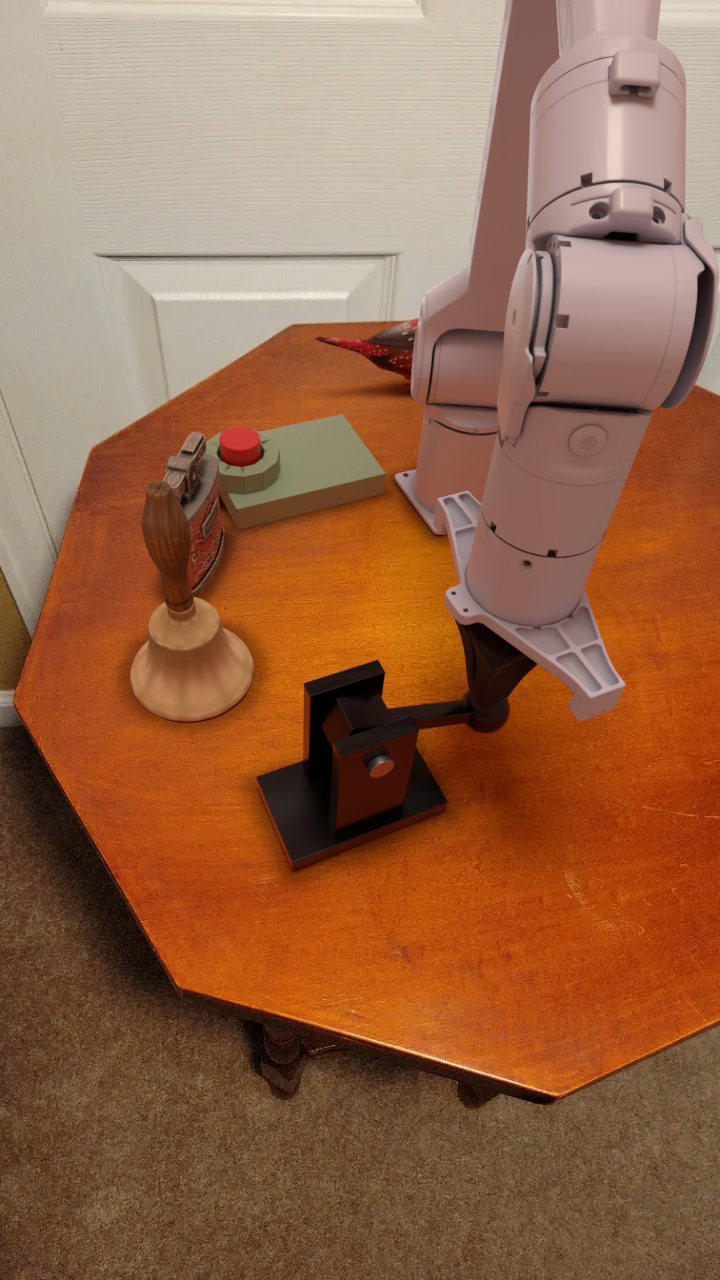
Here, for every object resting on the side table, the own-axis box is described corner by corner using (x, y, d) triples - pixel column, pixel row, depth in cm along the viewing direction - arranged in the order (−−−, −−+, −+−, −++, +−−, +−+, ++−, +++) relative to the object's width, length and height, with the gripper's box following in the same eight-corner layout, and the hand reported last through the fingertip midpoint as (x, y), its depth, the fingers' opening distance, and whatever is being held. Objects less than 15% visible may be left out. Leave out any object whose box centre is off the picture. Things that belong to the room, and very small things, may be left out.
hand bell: (147, 738, 51) (101, 556, 39) (118, 645, 56) (68, 457, 44) (271, 700, 54) (263, 518, 42) (232, 614, 58) (216, 428, 46)
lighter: (200, 605, 59) (186, 499, 51) (156, 596, 59) (135, 489, 51) (233, 533, 64) (225, 427, 56) (192, 525, 64) (179, 419, 57)
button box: (341, 434, 73) (343, 396, 70) (384, 494, 68) (388, 455, 65) (192, 467, 69) (187, 427, 66) (225, 533, 64) (221, 494, 61)
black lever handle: (479, 703, 51) (502, 671, 49) (504, 740, 49) (528, 708, 47) (316, 724, 44) (334, 687, 42) (337, 767, 42) (358, 731, 41)
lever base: (401, 735, 53) (419, 637, 45) (445, 811, 49) (472, 719, 42) (256, 786, 49) (249, 691, 42) (292, 871, 46) (291, 784, 39)
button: (253, 440, 66) (252, 422, 65) (266, 463, 64) (265, 445, 63) (215, 448, 65) (213, 430, 64) (228, 471, 63) (226, 453, 62)
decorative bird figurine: (492, 392, 79) (513, 293, 72) (316, 406, 76) (319, 304, 68) (483, 376, 81) (502, 278, 74) (311, 389, 78) (312, 288, 70)
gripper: (394, 441, 39) (374, 624, 50) (558, 654, 31) (493, 820, 41) (516, 413, 42) (472, 594, 52) (700, 605, 33) (604, 775, 44)
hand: (488, 692), depth 47 cm, fingers closed
